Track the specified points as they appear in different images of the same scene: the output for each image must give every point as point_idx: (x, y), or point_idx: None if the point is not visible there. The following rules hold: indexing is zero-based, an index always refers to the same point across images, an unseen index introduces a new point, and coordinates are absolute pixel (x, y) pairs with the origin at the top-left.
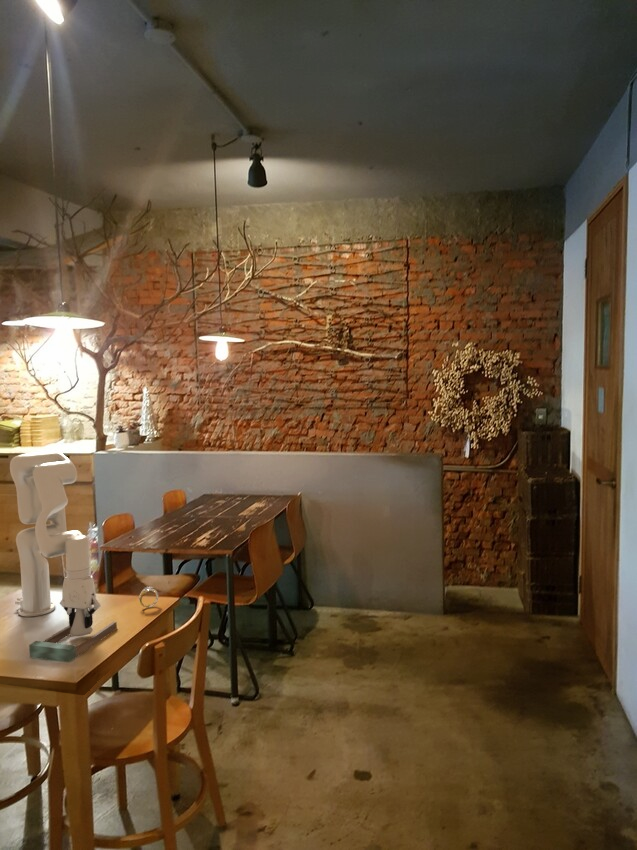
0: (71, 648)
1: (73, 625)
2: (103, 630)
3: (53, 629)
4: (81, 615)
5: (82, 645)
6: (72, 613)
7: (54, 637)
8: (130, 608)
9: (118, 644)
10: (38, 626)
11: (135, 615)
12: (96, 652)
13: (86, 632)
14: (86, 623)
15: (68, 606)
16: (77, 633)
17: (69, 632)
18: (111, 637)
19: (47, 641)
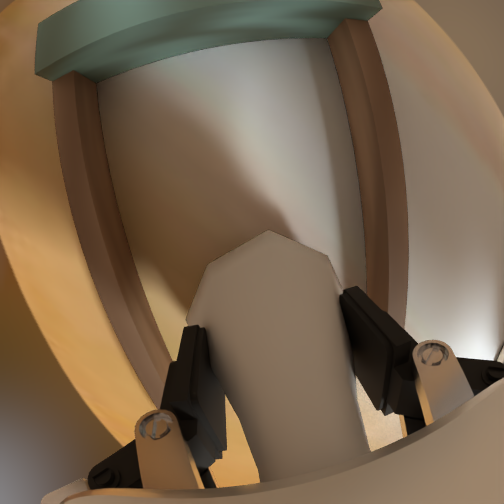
0: (37, 43)
1: (312, 295)
2: (139, 373)
3: (457, 289)
4: (255, 408)
5: (59, 149)
6: (396, 381)
7: (377, 162)
8: None
9: (34, 313)
10: (501, 276)
11: (229, 481)
12: (35, 198)
13: (196, 309)
14: (178, 353)
15: (483, 417)
16: (239, 261)
17: (371, 297)
18: (120, 359)
19: (364, 89)
